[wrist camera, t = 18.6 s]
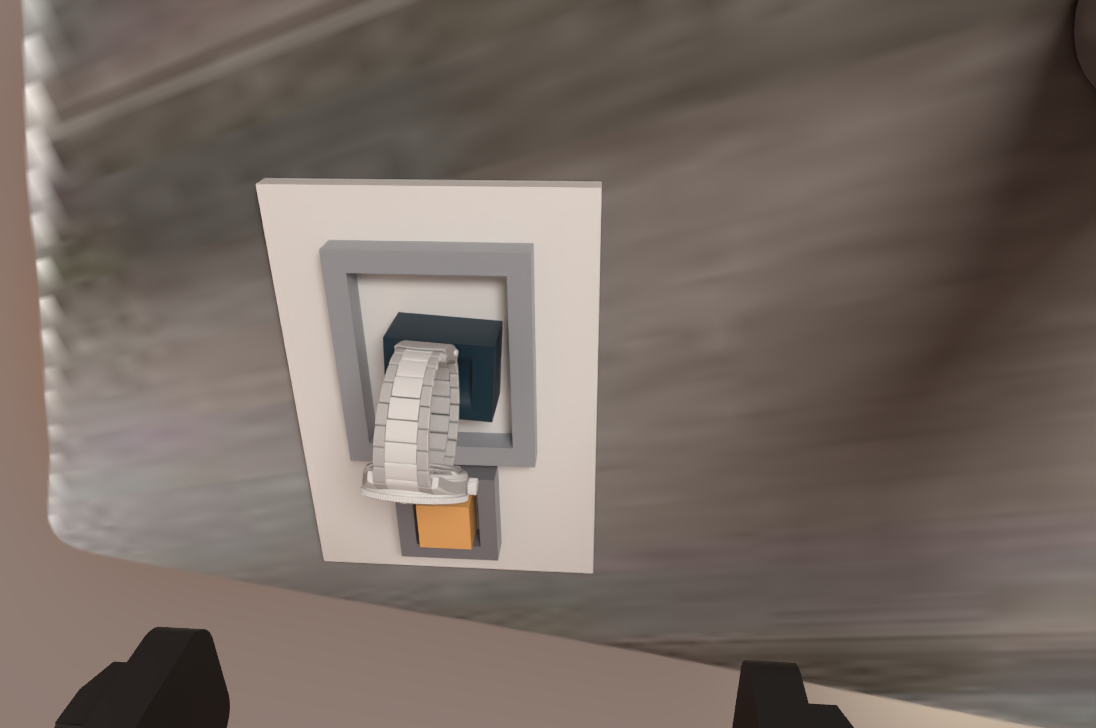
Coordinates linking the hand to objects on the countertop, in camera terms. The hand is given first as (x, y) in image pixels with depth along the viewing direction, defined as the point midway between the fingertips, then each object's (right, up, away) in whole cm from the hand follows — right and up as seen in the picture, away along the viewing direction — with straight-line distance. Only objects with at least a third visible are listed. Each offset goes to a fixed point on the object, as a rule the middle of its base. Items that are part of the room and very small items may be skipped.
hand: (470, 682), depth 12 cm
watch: (-4, +5, +30) cm, 31 cm away
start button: (-5, -4, +35) cm, 35 cm away
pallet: (-5, +3, +33) cm, 33 cm away
